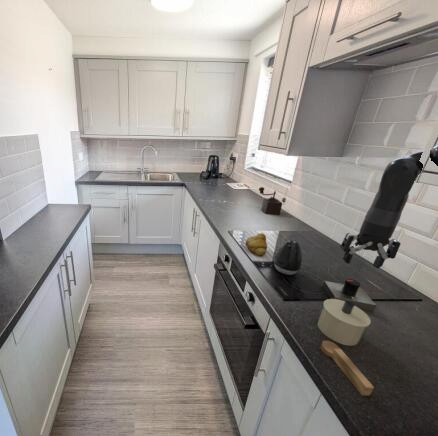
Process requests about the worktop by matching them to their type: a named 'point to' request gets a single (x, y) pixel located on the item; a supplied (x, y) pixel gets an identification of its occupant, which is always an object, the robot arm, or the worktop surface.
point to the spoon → (347, 367)
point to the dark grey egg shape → (288, 258)
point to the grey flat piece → (349, 296)
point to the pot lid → (346, 313)
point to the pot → (339, 330)
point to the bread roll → (257, 244)
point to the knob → (351, 287)
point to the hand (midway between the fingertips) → (360, 264)
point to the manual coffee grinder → (270, 204)
